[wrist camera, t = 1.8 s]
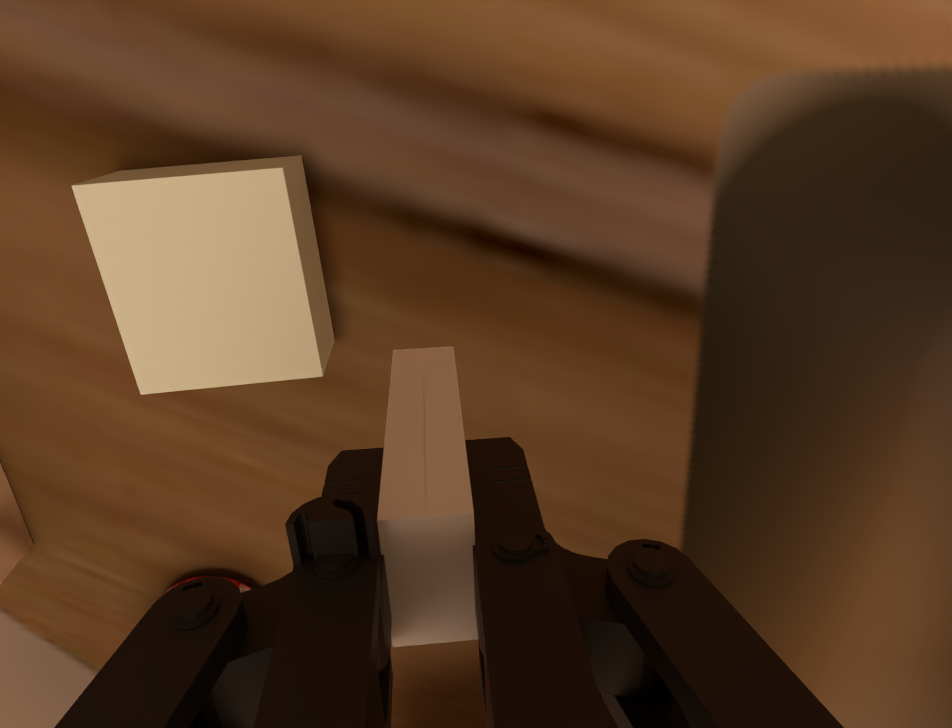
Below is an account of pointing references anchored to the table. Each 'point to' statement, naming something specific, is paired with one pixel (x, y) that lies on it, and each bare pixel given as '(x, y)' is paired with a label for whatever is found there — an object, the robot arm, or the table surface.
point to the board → (11, 529)
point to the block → (211, 272)
